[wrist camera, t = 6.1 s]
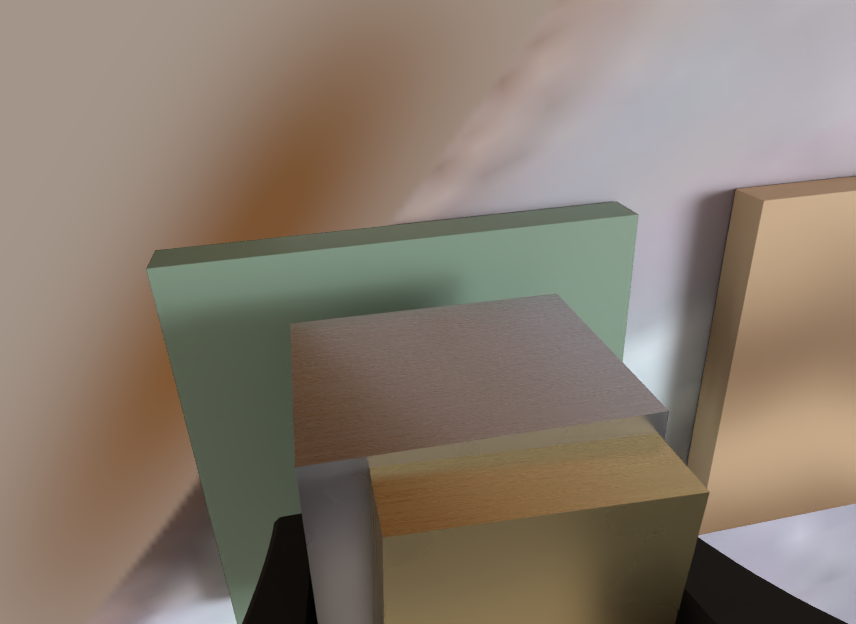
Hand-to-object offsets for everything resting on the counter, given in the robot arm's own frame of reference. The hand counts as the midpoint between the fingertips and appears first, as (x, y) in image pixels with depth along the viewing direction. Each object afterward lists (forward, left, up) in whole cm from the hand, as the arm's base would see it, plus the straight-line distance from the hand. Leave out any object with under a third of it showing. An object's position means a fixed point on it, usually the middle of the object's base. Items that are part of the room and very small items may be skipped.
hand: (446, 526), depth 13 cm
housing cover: (0, 0, +3) cm, 3 cm away
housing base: (0, 0, -1) cm, 1 cm away
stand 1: (0, 0, -4) cm, 4 cm away
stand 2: (0, -13, -4) cm, 14 cm away
